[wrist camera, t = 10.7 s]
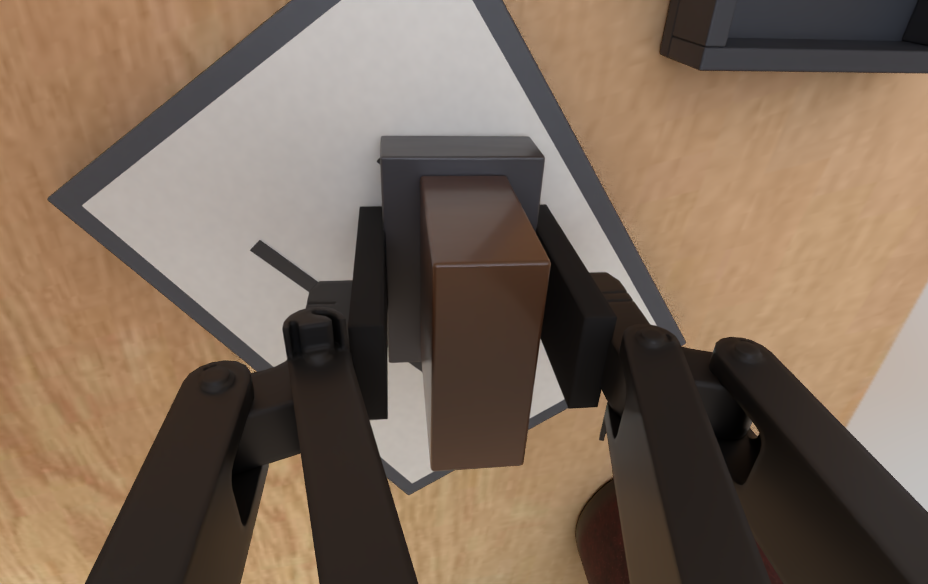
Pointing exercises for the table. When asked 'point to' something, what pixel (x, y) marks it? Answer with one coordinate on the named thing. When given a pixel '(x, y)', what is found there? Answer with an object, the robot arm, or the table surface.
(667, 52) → the tray
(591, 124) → the table surface
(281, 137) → the whiteboard
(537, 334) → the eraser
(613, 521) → the vase
